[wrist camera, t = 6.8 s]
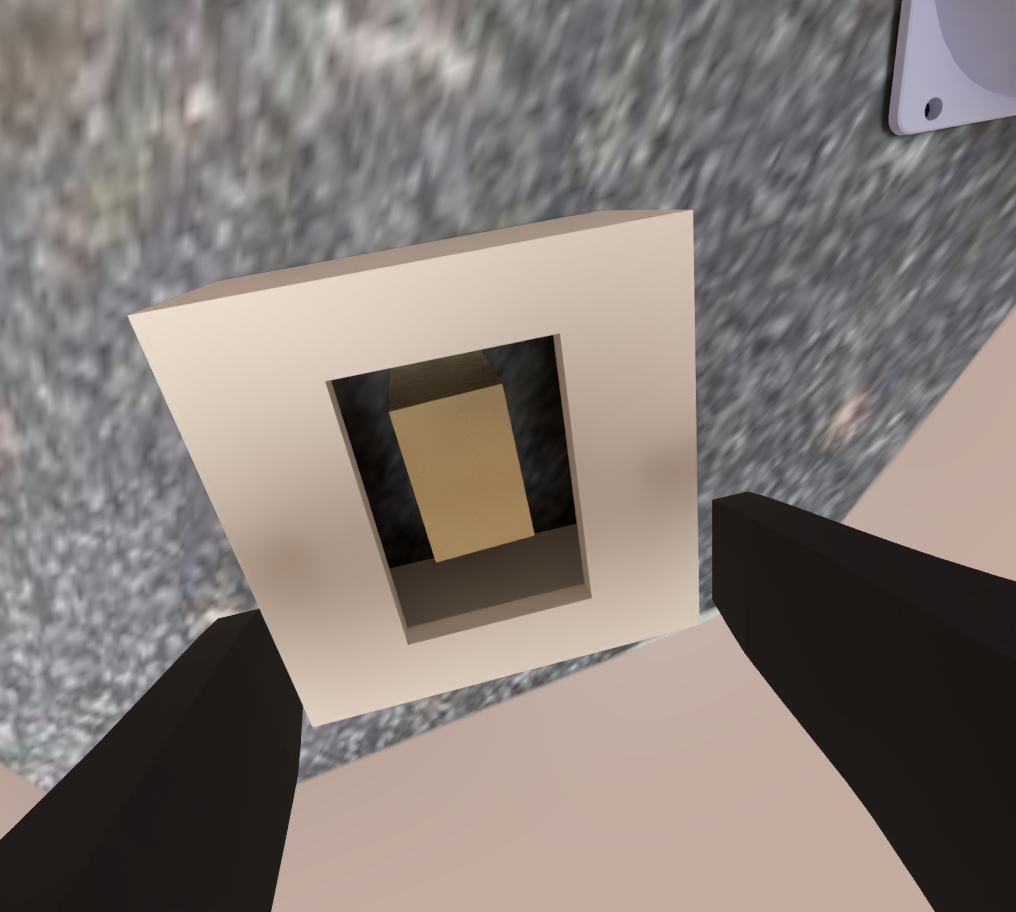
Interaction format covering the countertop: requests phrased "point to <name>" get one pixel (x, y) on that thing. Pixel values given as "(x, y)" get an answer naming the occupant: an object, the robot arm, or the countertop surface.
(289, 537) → the box
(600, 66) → the countertop surface
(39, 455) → the countertop surface
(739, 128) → the countertop surface
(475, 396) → the block
